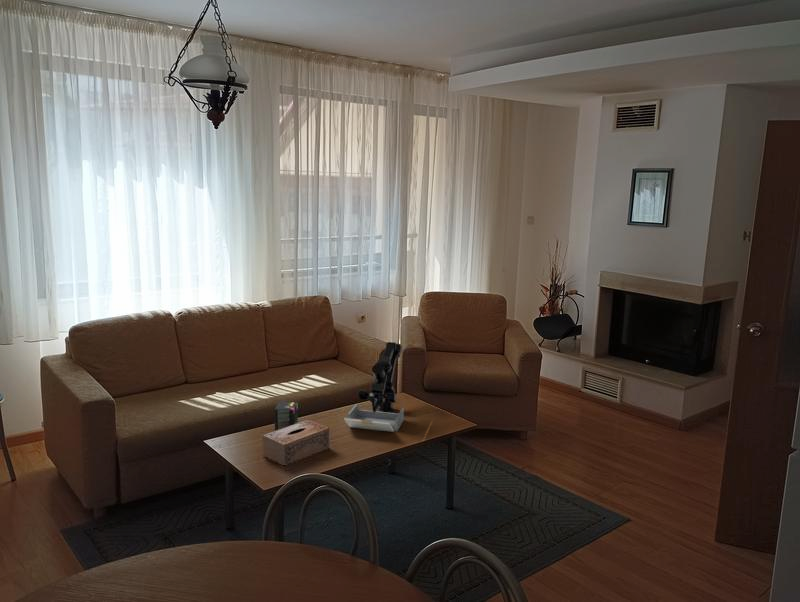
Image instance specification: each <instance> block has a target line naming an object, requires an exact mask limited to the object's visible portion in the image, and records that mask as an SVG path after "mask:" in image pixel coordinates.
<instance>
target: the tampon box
mask: <svg viewBox="0 0 800 602" xmlns="http://www.w3.org/2000/svg"><path fill="white" fill-rule="evenodd" d="M298 403H299V402H297V401H296V402H295V401H279V402H278V403H277V405H276V406H275V408H274V411H273V412H274V431H277V430H279V429H282V428H285V427H288V426H291V425H294V424H297V423H299V419H298V416H299V415H298V411H299V409H298V407H299V405H298Z"/></svg>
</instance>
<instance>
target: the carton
mask: <svg viewBox="0 0 800 602" xmlns="http://www.w3.org/2000/svg"><path fill="white" fill-rule="evenodd" d="M404 417H405V408H403V407H402V408H401V409H400V411H399V412H398V413H395V412H384V411H379V410H378V411H377V410H376V412H373V410H369V409H368V410H367V409H359V404H358V403H356V404H355V405H353V406H352V408H351V409H350V410H349V412H348V413H347V418H349V419H359V420H369V421H378V422H387V423H390V424H391V426H392V428H393V430H394V431H395V432H398V431H399V429H400V427H401V425H402V424H403V422H404V420H405V418H404Z"/></svg>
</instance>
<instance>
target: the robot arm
mask: <svg viewBox="0 0 800 602" xmlns="http://www.w3.org/2000/svg"><path fill="white" fill-rule="evenodd" d="M402 353H403V346H402V345H401V343H396V342H393V341H392V342H391V341H388V342H386V343H385V349H384V351H383V354H382V357H380V358H378V359H377V362H375V364H374V365H373V366H372V368H371V371H372V372H371V373H372V375H373V377H374V381H373V383H370V388H369V389H370V392H368V391H367V390H366V389H365V390H364V389H359V390H358V391H357V396H358V398H359V400H361V401H362V400H364V401H366V400H368V399H369V402H371V406H372V407H371V408H372V411H373V412H376V411H377V410H378V409H379V410H378V411H381V410H382V411H381V412H384V411H385V412H388V411H389V412H392V411H395V408H394V407H393V403H394V404H396V402H397V394H396V392H395V389H394V385H393V378H394V373H395V369H396V364H397V360H398V359H399V358H400V357H401V355H402ZM391 410H392V411H391ZM389 412H388V413H389Z"/></svg>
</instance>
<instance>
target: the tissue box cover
mask: <svg viewBox="0 0 800 602" xmlns="http://www.w3.org/2000/svg"><path fill="white" fill-rule="evenodd" d="M328 448H329V449H330V427H328V426H325V425H324V424H320V423H318V422H315V421H313V420H311V419H306V420H303V421H300V422H298V423H297V424H294V425H291V426H288V427H285V428H282V429H279V430H277V431H275V430H274V431H271V432H269V433H268V432H267V433H266V434H262V457H263V456H265V457H264V458H266V457H268V458H270V459H272V460H274V461H276V462H278V463H280V464H282V465H286V464H289V463H291V464H293V463H292V462H294V461H296V460H299V459H301V460H303V459H302V458H304V457H306V456H309V455H311V456H313V455H312V454H314V455H316V454H318V453H317V452H319V451H321V452H324V451H326V450H328ZM325 449H326V450H325ZM323 450H324V451H323ZM315 453H316V454H315ZM319 453H320V452H319ZM309 457H310V456H309ZM268 458H267V459H268ZM306 458H307V457H306ZM270 459H269V460H270ZM304 459H305V458H304ZM272 460H271V461H272ZM274 461H273V462H274ZM299 461H300V460H299ZM276 462H275V463H276ZM296 462H297V461H296ZM278 463H277V464H278ZM294 463H295V462H294ZM280 464H279V465H280ZM282 465H281V466H282ZM289 465H290V464H289ZM286 466H287V465H286Z"/></svg>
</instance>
